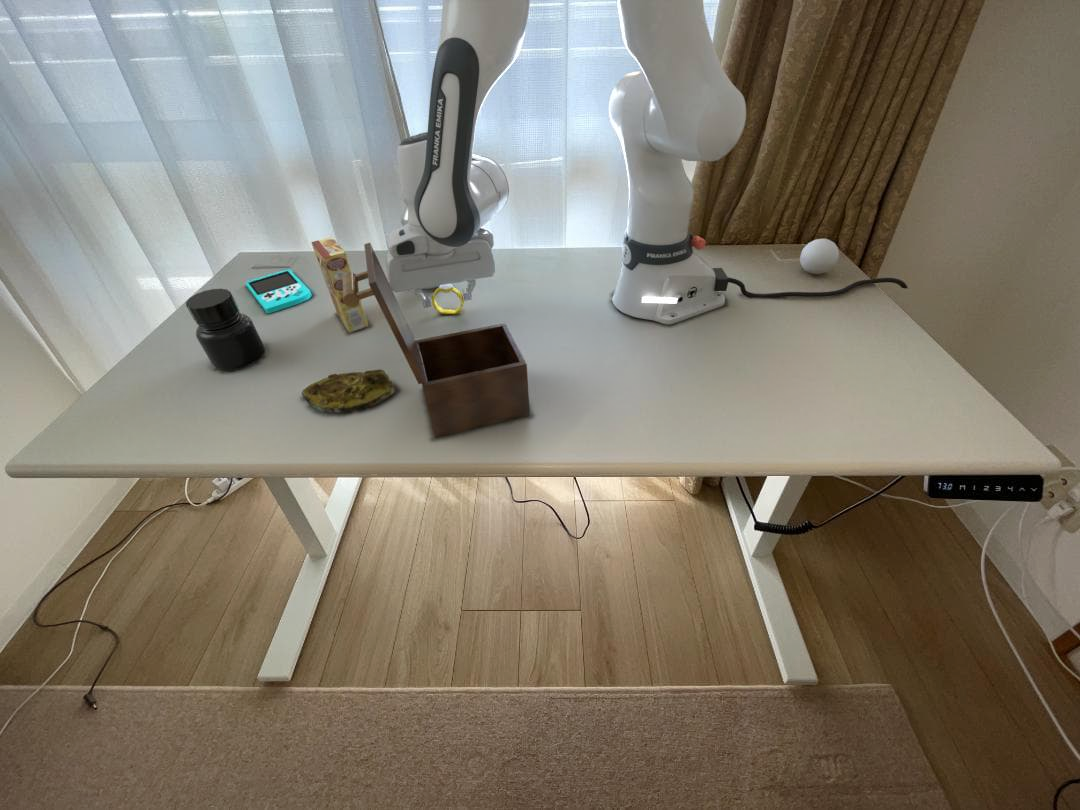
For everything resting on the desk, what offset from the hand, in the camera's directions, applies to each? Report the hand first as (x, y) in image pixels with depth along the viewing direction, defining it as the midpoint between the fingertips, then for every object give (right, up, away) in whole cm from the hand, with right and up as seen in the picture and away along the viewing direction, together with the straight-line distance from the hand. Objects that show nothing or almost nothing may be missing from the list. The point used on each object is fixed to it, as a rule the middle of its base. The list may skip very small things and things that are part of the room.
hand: (447, 302), depth 97 cm
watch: (0, -2, +2) cm, 3 cm away
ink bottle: (-36, -12, -8) cm, 39 cm away
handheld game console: (-39, +4, +11) cm, 41 cm away
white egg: (+78, +9, +11) cm, 80 cm away
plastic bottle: (-6, +6, +11) cm, 14 cm away
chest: (+8, -20, -19) cm, 29 cm away
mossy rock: (-13, -19, -17) cm, 28 cm away
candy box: (-19, -4, +1) cm, 20 cm away
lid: (0, -8, -33) cm, 34 cm away
